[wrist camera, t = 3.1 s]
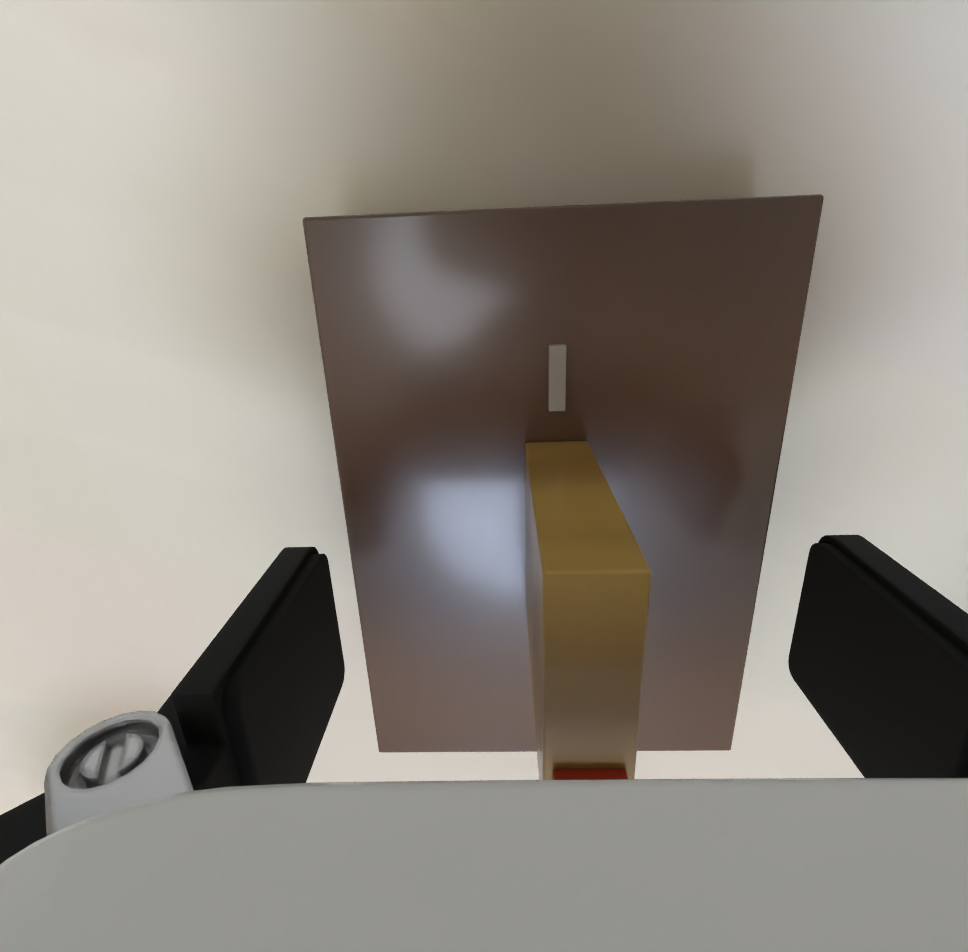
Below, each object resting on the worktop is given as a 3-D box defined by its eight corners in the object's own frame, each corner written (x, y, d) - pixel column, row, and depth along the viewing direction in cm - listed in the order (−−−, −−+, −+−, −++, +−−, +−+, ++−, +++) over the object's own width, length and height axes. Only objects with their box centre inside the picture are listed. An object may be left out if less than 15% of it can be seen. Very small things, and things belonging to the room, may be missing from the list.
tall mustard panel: (524, 441, 12) (544, 583, 7) (587, 440, 12) (658, 580, 7) (526, 615, 14) (544, 838, 8) (582, 614, 14) (634, 837, 8)
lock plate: (342, 227, 13) (298, 216, 10) (756, 208, 13) (831, 192, 10) (396, 679, 18) (377, 758, 16) (695, 676, 18) (733, 756, 15)
